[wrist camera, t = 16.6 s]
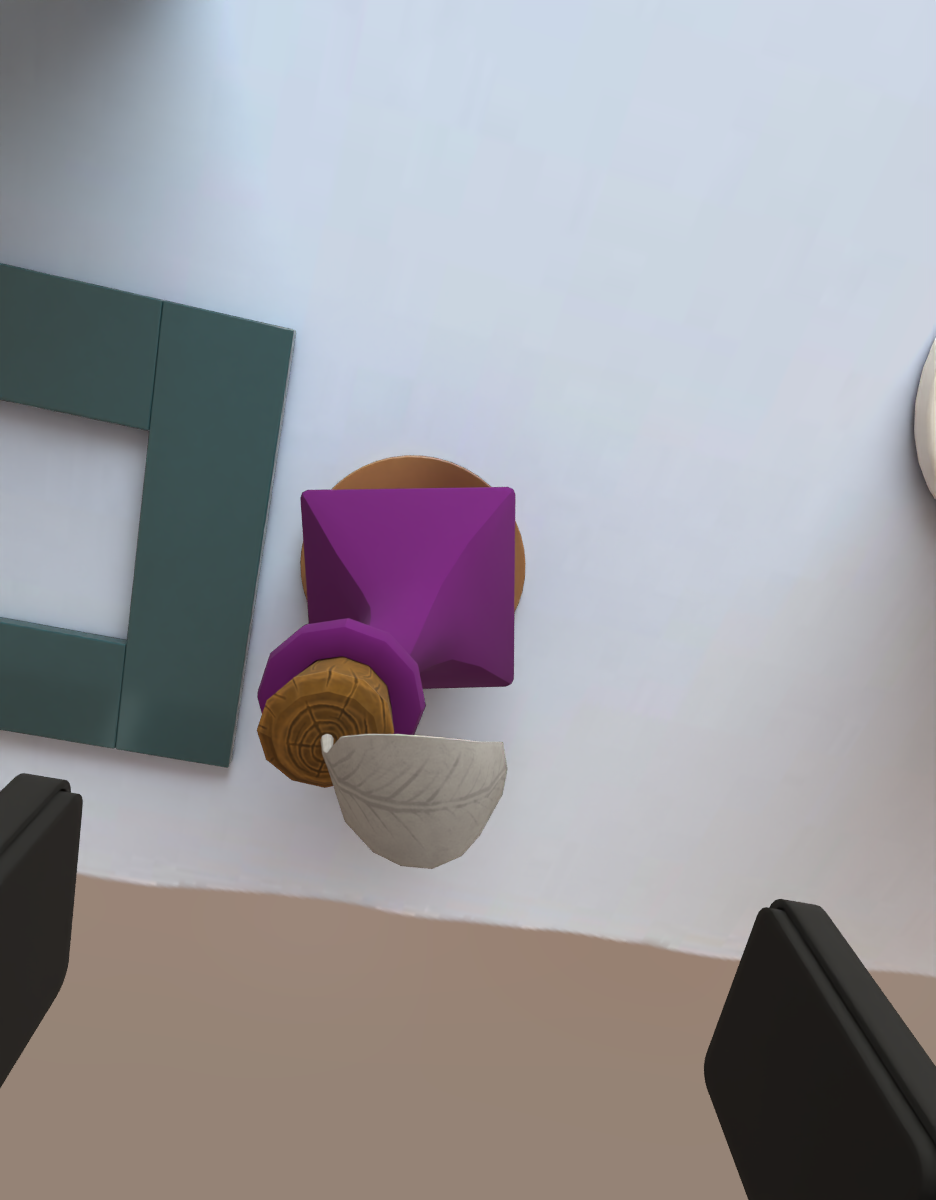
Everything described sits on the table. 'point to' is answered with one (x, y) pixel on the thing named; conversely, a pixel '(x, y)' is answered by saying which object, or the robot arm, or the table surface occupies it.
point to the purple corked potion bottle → (396, 662)
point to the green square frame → (152, 511)
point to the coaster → (422, 475)
